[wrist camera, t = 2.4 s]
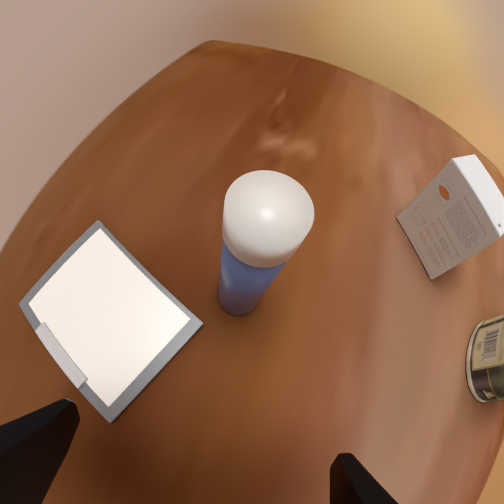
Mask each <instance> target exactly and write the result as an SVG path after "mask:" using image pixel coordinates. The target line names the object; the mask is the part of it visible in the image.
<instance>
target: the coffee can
mask: <svg viewBox="0 0 504 504" xmlns="http://www.w3.org/2000/svg"><path fill="white" fill-rule="evenodd" d="M466 373H467V380H468V385H469V388H470V390H471V393H472V394H473V396H474V397H475V398H476V399H477V400H478V401H480V402H489V401H497V400H504V314H502V315H500V316H497V317H494V318H492V319H488V320H484V321H482V322H480V323H479V324H478V325H477V326H476V328H475V329H474V331H473V333H472V335H471V337H470V341H469V345H468V350H467V356H466Z"/></svg>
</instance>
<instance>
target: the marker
mask: <svg viewBox="0 0 504 504" xmlns="http://www.w3.org/2000/svg"><path fill="white" fill-rule="evenodd" d="M313 221H314V207H313V203H312V200H311V198H310V196H309V195H308V193H307V191H306V190H305V189H304V188H303V187H302V186H301V185H300V184H299V183H298V182H297V181H295V180H294V179H292V178H291V177H289V176H287V175H284V174H282V173H279V172H275V171H267V170H260V171H253V172H250V173H247V174H244V175H243V176H241V177H239V178H238V179H237V180H235V181H234V182H233V183H232V185H231V186H230V187H229V189H228V191H227V193H226V196H225V203H224V213H223V223H222V235H223V245H222V255H221V265H220V275H219V286H218V301H219V304H220V306H221V307H222V308H223V310H225V311H226V312H227V313H229V314H231V315H235V316H242V315H246V314H248V313H250V312H251V311H252V310H253V309H254V308H255V307H256V305H257V304H258V302H259V301H260V299H261V298H262V296H263V295H264V294H265V292H266V291H267V289H268V288H269V286H270V285H271V283H272V282H273V280H274V279H275V277H276V276H277V274H278V273H279V271H280V270H281V268H282V267H283V265H284V264H285V262H286V261H287V260H288V259H290V258H291V257H292V256H293V254H294V253H295V251H296V250H297V248H298V247H299V245H300V244H301V242H302V241H303V240H304V238H305V237H306V235H307V234H308V232H309V231H310V229H311V227H312V224H313Z"/></svg>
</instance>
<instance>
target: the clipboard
mask: <svg viewBox="0 0 504 504" xmlns="http://www.w3.org/2000/svg"><path fill="white" fill-rule="evenodd" d="M19 306H20V307H21V309H22V311H23V313H24V314H25V316H26V318H27V319H28V321H29V322H30V324H31V326H32V327H33V329H34V330H35V332H36V334H37V335H38V337H39V338H40V340H41V341H42V343H43V344H44V345H45V347H46V348H47V350H48V351H49V353H50V354H51V355H52V357H53V358H54V359H55V361H56V362H57V363H58V365H59V366H60V367H61V369H62V370H63V371H64V372H65V374H66V375H67V376H68V378H69V379H70V380H71V381H72V382H73V384H74V385H75V386H76V387H77V388H78V389H79V391H80V392H81V393H82V394H83V395H84V396H85V397H86V399H87V400H88V401H89V402H90V403H91V404H92V405H93V406H94V407H95V408H96V410H97V411H98V412H99V413H100V414H101V415H102V416H103V417H104V418H105V419H106V420H107V421H108V422H109V423H112V422H113V421H114V420H115V419H116V418H117V417H118V416H119V415H120V414H121V413H122V412H123V411H124V410H125V409H126V408H127V407H128V405H129V404H130V403H131V402H132V401H133V400H134V399H135V398H136V397H137V396H138V395H139V394H140V393H141V392H142V391H143V389H144V388H145V387H146V386H147V385H148V384H149V383H150V382H151V381H152V380H153V379H154V378H155V377H156V376H157V374H158V373H159V372H160V371H161V370H162V369H163V368H164V367H165V366H166V365H167V364H168V363H169V361H170V360H171V359H172V358H173V357H174V356H175V355H176V354H177V353H178V352H179V351H180V350H181V348H182V347H183V346H184V345H185V344H186V343H187V342H188V341H189V340H190V339H191V338H192V337H193V335H194V334H195V333H196V332H197V331H198V330H199V329H200V328H201V327H202V326H203V325H204V324H203V323H202V322H201V321H200V320H199V319H198V318H197V317H196V316H195V315H193V314H192V313H191V312H190V311H189V310H188V309H187V308H186V307H185V306H184V305H182V304H181V303H180V302H179V301H178V300H177V299H176V298H175V297H174V296H173V295H172V294H171V293H170V292H169V291H167V290H166V289H165V288H164V287H163V286H162V285H161V284H160V283H159V282H158V281H157V280H156V279H155V278H154V277H153V276H152V275H151V274H150V273H149V272H148V271H147V270H146V269H145V268H144V267H143V266H142V265H141V264H140V263H139V262H138V261H137V260H136V259H135V258H134V257H133V256H132V255H131V254H130V253H129V252H128V251H127V250H126V249H125V248H124V247H123V246H122V245H121V244H120V243H119V241H118V240H117V239H116V238H115V237H114V236H113V235H112V234H111V233H110V232H109V231H108V230H107V229H106V227H105V226H104V225H103V224H102V223H101V222H100V221H99V220H97V221H96V222H95V223H94V224H93V225H92V226H91V227H90V228H89V229H88V230H87V231H86V232H85V233H84V234H82V235H81V236H80V237H79V238H78V239H77V240H76V241H75V242H74V243H73V244H72V245H71V246H70V247H69V248H68V249H67V250H66V251H65V252H64V254H63V255H62V256H61V257H60V258H59V259H58V260H57V261H56V262H55V263H54V264H53V265H52V266H51V267H50V268H49V269H48V271H47V272H46V273H45V274H44V275H43V276H42V277H41V278H40V279H39V281H38V282H37V283H36V284H35V285H34V286H33V288H32V289H31V290H30V291H29V292H28V293H27V295H26V296H25V297H24V298H23V299H22V301H21V302H20V303H19Z"/></svg>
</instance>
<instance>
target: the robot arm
mask: <svg viewBox="0 0 504 504" xmlns="http://www.w3.org/2000/svg"><path fill="white" fill-rule="evenodd" d="M79 421H80V416H79V413H78V410H77V406H76V404H75V402H74V401H71V400H69V399H67V398H63V399H61V400H59V401H56V402H54V403H52V404H50V405H48V406H45V407H43V408H41V409H39V410H36V411H34V412H32V413H29V414H27V415H25V416H22V417H20V418H18V419H15V420H13V421H10V422H8V423H5V424H3V425H1V426H0V504H42V502H43V500H44V498H45V496H46V493H47V491H48V489H49V487H50V485H51V483H52V481H53V479H54V477H55V476H56V474H57V472H58V470H59V468H60V466H61V464H62V462H63V460H64V458H65V456H66V454H67V452H68V450H69V447H70V445H71V442H72V439H73V437H74V434H75V432H76V429H77V427H78V424H79ZM330 504H398V503H397V502H396V501H395V500H394V499H393V498H392V497H391V496H390V495H389V493H388V492H387V491H386V490H385V489H384V488H383V487H382V486H381V485H380V484H379V483H378V482H377V481H376V480H375V479H374V477H373V476H372V475H371V474H370V473H369V472H368V471H367V470H366V469H365V468H364V467H363V465H362V464H361V463H360V462H359V461H358V460H357V459H356V458H355V456H354V455H353V454H351V453H340V454H338V456H337V457H336V459H335V460H334V462H333V463H332V465H331V467H330Z"/></svg>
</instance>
